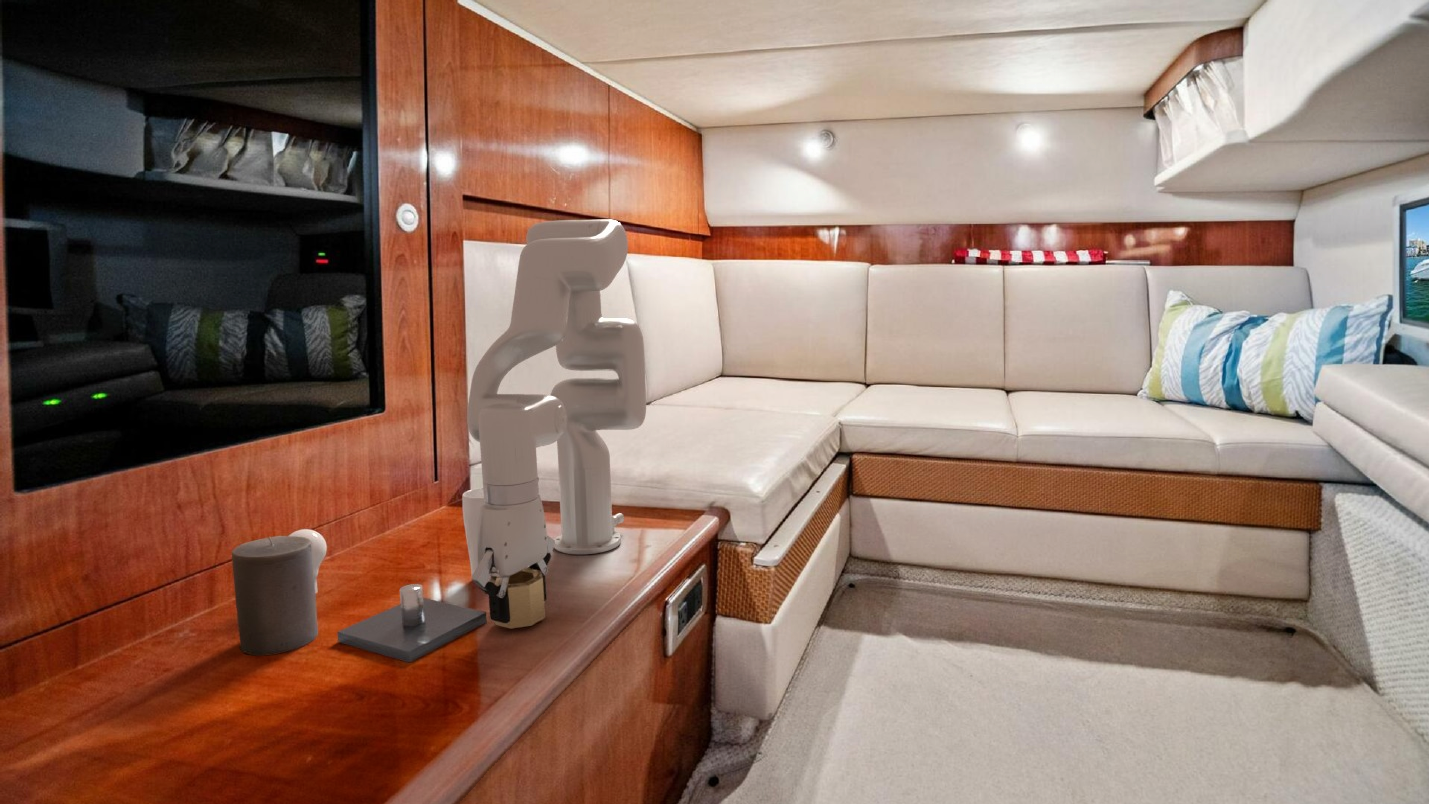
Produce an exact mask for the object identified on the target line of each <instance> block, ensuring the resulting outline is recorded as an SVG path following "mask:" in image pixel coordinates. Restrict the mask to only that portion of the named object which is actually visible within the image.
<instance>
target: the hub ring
mask: <svg viewBox="0 0 1429 804" xmlns="http://www.w3.org/2000/svg"><path fill="white" fill-rule="evenodd" d="M499 581H500V578H499V577H497V578H496V582H495V585H497V586H498V585H499ZM505 595H508V597H509V608H510V622H508V623H506V624H505V623H501V622H497V621H494V625H495V626H499V627H503V628H507V629H511V630H512V629H515V628H517V629H518V628H524V627H529V626H533V625H535V624H536V623H538V622H540V621H542V620H543V619H545V618H546V610H545V608H546V607H545V601H544V590H543V577H542V573H541V571H540V570H535V569H530V568H525V569H523V570H521V571H519V572H517V573H515V574H513V575H511V576H510V577H509V581H508V584H507V588H506V592H505Z"/></svg>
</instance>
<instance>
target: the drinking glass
mask: <svg viewBox="0 0 1429 804" xmlns="http://www.w3.org/2000/svg"><path fill="white" fill-rule="evenodd" d="M461 497H462V499H461V500H462V517H463V518H462V519H463V524H464V531H465V537H466V545H467V550H468V556H469V563H470V573H471V577H472V575H473V573H474V572H475V570H476V568H477V567H478V550H477V537H478V521H479V513H480V508H481V506H483V505H484V492H483V487H480V488H474V489H470V490H467V491H464V492H463V493H462V495H461ZM497 573H499V569H498V571H497ZM488 575H489V573H488ZM488 575H487V578H488Z"/></svg>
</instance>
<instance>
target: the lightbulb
mask: <svg viewBox="0 0 1429 804" xmlns="http://www.w3.org/2000/svg"><path fill="white" fill-rule="evenodd" d="M288 536H297V537H305V538H307V539H309V540H311V541H312V543H311V548H312V562H313V574H314V586H315V595H316V594H317V593H318V592H319V591H318V581H317V580H318V578H317V577H318V575H319V571H320V570H319V569H320V566H321V564H322V562H323V561H324V559H325V557H326V555H327V549H328V547H327V542H326V539H325V538H324V536H323V535H322V534H320V533H319V532H318V531H316V530H313V529H311V528H309V529H307V528H302V529H298V530H296V531H293V532H292V533H290V534H289V535H288Z"/></svg>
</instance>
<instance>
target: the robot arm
mask: <svg viewBox="0 0 1429 804" xmlns="http://www.w3.org/2000/svg"><path fill="white" fill-rule="evenodd" d="M526 232H527V233H526V238H525V239H526V245H525V246H523V248H522V250H521V252H520V254H519V260H518V267H517V273H516V281H515V288H514V296H513V303H512V309H511V315H510V317H511V318H510V323H509V327H508V328H507V329H506V331H504V332H503V334H501V335H500V336H499V337H498V338H497V339H496V340H495V341H494V342H492V344H491V345H490V347H489V348H488V349H487V351H485V352H484V354H483V356H481V359H480V360H479V362H478V363H477V365H476V367H475V369H474V372H473V374H472V379H471V385H470V389H469V390H470V391H469V397H468V402H467V403H468V404H467V414H466V417H467V418H466V421H467V422H466V423H467V429H468V431H469V434H470V436H471V437H472V439H474V440H475V441H476V442H478V443H479V448H480V460H481V461H480V463H481V473H482V474H481V475H482V486H483V487H482V488H483V492H484V505H483V506H481V508H480V513H479V521H478V537H477V550H478V567H477V568H476V570H475V572H474V573H473V575H472V576H471V581H472V582H473V583H474V584H475V585H476V586H478V588H479V590H481V591H482V592H484V594H485V595H487V596H488V604H489V618H490V620H491V621H493V622H495V621H497V622H501V623H505V624H506V623H508V622H510V608H509V597H508V595H505V592H506V588H507V584H508V581H509V577H510V576H511V575H513V574H515V573H517V572H519V571H521V570H523V569H525V568H530V569H535V570H540V571H541V573H542V577H543V590H544V602H546V601H547V586H546V585H547V584H546V575H547V574H548V571H549V568H548V565H549V563H550V561H551V558H552V553H553V550H554V549H555V550H556V551H558V552H560V553H563V554H568V555H593V554H599V553H605V552H609V551H611V550H613V549H615V548H617V547H618V546H620V545H621V543H622V536H621V535H620V533H618V532H616V531H615V528H616V526H617V525H619V524H621V523H623V522H624V521H625V516H624V514H623V513H620V512H619V513H616V514H612V513H613V509H612V508H613V507H612V486H611V485H612V484H611V481H612V480H611V456H610V452H609V448H608V445H607V444H606V442H605V440H604V439H603V438H602V437H601V435H600V434H599V433H598V431H604V430H605V431H613V430H614V431H616V430H617V431H621V430H622V431H629V430H635V429H638V428H640V427H641V426H642V425H643V423H644V422H645V419H646V414H647V389H646V385H647V384H646V361H645V357H646V356H645V344H644V343H645V342H644V337H643V333H642V330H641V328H640V326H639V324H638V323H637V322H635V321H634V320H632V319H629V318H622V317H621V318H620V317H615V318H604V317H603V316H602V300H601V299H602V298H601V291H604V290H605V289H607V288H608V287H610V285H611V283H612V282H613V281H614V279H615V278H616V277H617V276H618V274H619V272H620V271H621V269H622V268H623V266H624V265H625V261H626V259H627V255H628V250H629V241H628V240H629V239H628V235H627V232H626V230H625V228H624V226H623V225H622V224H621V222H618V221H617V220H614V219H564V220H563V219H562V220H548V221H542V222H537V223H535V224H533V225H531V226H530V228H528V230H527V231H526ZM553 347H555V352H556V357H557V361H558V363H559V365H560V366H561V367H562V368H563V369H565V370H570V371H574V372H575V371H576V372H577V371H579V372H587V371H588V372H605V371H607V372H615V373H616V374H617V376H618V377H609V378H608V377H604V378H603V377H573V378H567V379H563V380H562V381H559V382H558V383H556V384H555V385H554V386H553V387H552V390H551V392H550V395H549V394H527V393H526V394H525V393H509V394H508V393H498V391H499V388H500V386H501V383H502V381H503V379H504V378H505V376H506V375H507V374H508V373H509V372H510V371H511V370H512V369H513V368H515V367H516V366H518V365H520V363H522V362H524V361H527V360H528V359H530V358H532V357H534V356H536V355H538V354H541V353H543V352H544V351H547V350H549V349H551V348H553ZM554 443H556V447H557V459H558V460H557V466H558V485H559V507H560V508H559V512H560V527H561V528H560V531H561V532H560V533H561V534H559V535H557V536H556V537H554V538H552V537H550V536H549V535H548V533H547V532H548V531H547V524H546V523H547V522H546V517H545V515H546V514H545V512H544V511H545V510H544V505H543V503H542V498H541V495H540V492H539V491H540V488H539V481H540V479H539V476H538V463H537V461H538V459H537V458H538V457H537V448H539V447H544V446H548V445H551V444H554ZM498 569H499V573H497V571H498ZM488 573H489V575H488ZM487 575H488V578H487ZM497 577H499V578H500V581H499V585H498V586H497V585H495V582H496V578H497Z"/></svg>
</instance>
